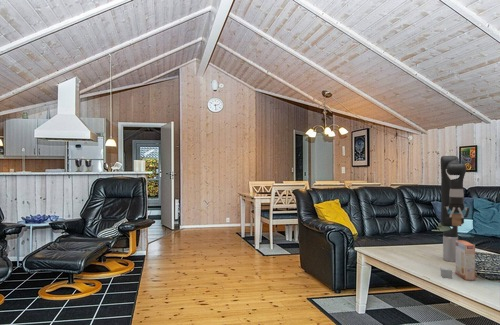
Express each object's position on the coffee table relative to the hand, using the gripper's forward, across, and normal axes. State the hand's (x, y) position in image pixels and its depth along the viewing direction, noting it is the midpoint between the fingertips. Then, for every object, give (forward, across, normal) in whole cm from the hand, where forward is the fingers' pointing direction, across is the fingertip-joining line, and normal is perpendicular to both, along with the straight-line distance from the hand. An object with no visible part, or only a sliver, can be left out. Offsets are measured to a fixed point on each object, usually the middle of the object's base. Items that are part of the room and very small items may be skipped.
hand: (456, 223), depth 219 cm
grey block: (+32, +6, +7) cm, 33 cm away
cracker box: (+32, -4, 0) cm, 32 cm away
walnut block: (+1, 0, 0) cm, 1 cm away
